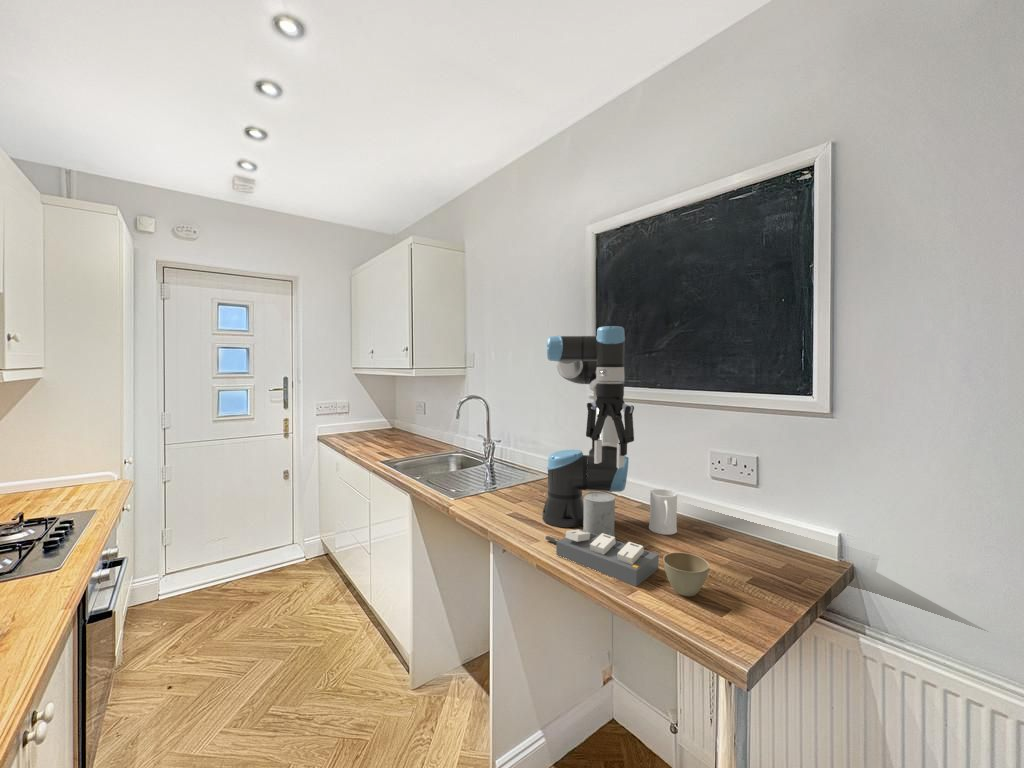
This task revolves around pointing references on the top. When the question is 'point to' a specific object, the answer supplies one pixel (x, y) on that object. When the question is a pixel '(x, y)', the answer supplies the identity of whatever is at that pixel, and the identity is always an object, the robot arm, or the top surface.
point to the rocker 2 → (602, 543)
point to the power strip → (607, 559)
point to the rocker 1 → (577, 535)
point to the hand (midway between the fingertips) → (608, 464)
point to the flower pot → (685, 572)
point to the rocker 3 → (630, 553)
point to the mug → (663, 511)
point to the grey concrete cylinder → (599, 513)
